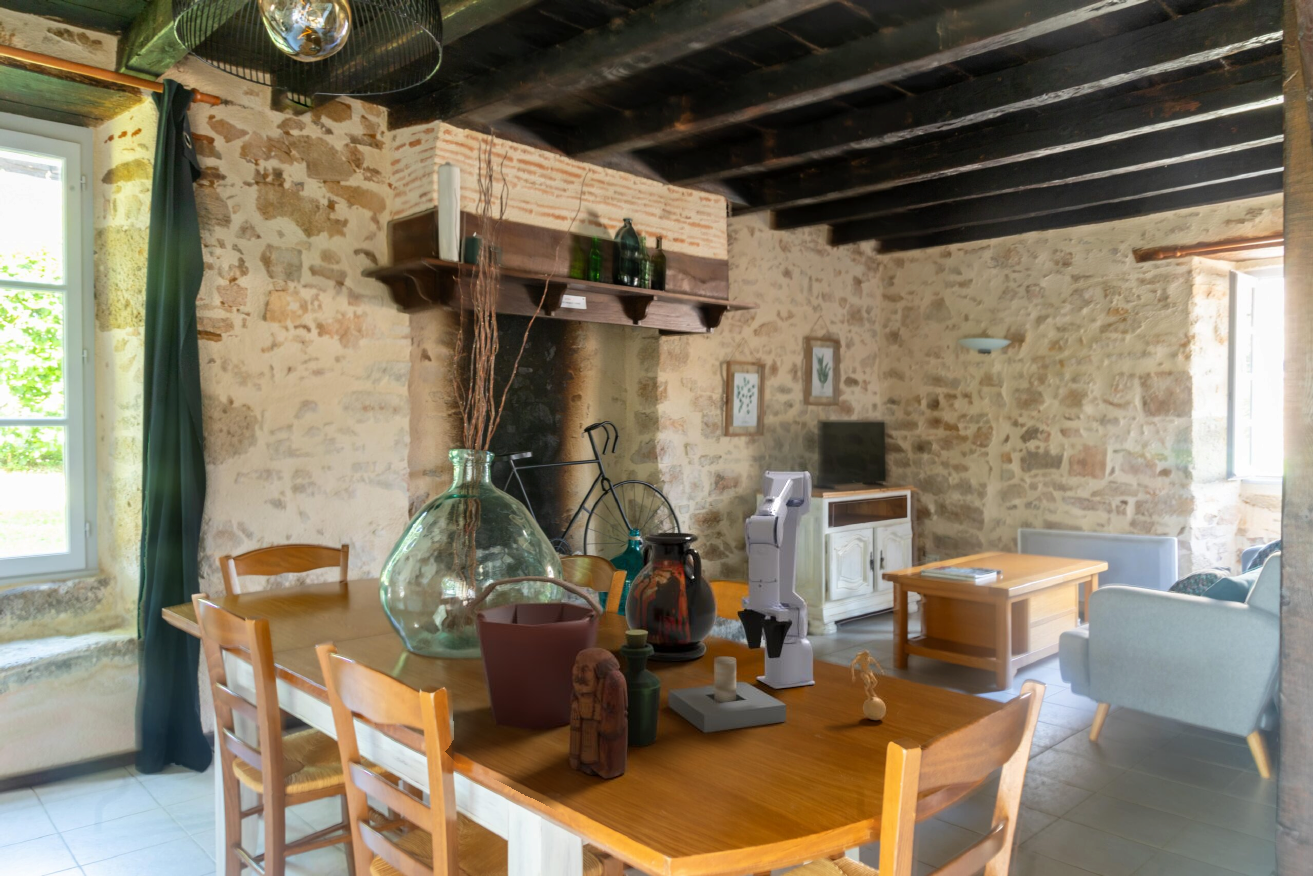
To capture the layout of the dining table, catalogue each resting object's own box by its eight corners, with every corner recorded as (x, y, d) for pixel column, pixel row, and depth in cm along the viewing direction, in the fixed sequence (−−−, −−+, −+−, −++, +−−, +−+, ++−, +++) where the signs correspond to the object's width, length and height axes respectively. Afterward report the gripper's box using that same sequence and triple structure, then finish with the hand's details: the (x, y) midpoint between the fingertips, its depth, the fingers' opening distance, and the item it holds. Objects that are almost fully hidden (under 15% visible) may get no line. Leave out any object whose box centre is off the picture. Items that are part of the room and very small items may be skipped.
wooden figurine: (555, 762, 134) (555, 646, 134) (586, 752, 139) (586, 640, 139) (606, 783, 126) (606, 660, 126) (637, 771, 130) (637, 652, 131)
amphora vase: (606, 653, 204) (606, 534, 204) (672, 639, 218) (672, 528, 218) (668, 671, 188) (668, 542, 188) (736, 655, 202) (735, 535, 203)
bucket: (445, 724, 153) (445, 582, 153) (511, 690, 173) (510, 566, 174) (569, 741, 144) (568, 591, 144) (622, 704, 164) (622, 572, 164)
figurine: (867, 727, 151) (867, 658, 151) (841, 718, 156) (841, 651, 156) (898, 718, 156) (898, 651, 156) (872, 709, 161) (872, 645, 161)
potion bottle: (665, 733, 148) (665, 628, 148) (655, 750, 140) (655, 638, 140) (619, 730, 149) (619, 626, 149) (606, 746, 141) (606, 636, 141)
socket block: (744, 697, 169) (744, 681, 169) (786, 721, 154) (786, 704, 154) (668, 706, 163) (668, 690, 163) (704, 732, 148) (704, 715, 148)
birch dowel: (730, 709, 161) (729, 655, 161) (740, 715, 157) (739, 660, 157) (710, 712, 159) (710, 657, 159) (720, 718, 156) (720, 662, 156)
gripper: (727, 575, 167) (727, 646, 167) (763, 587, 153) (764, 664, 153) (759, 573, 169) (759, 643, 169) (798, 584, 156) (798, 660, 156)
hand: (764, 652), depth 161 cm, fingers open, 7 cm apart
